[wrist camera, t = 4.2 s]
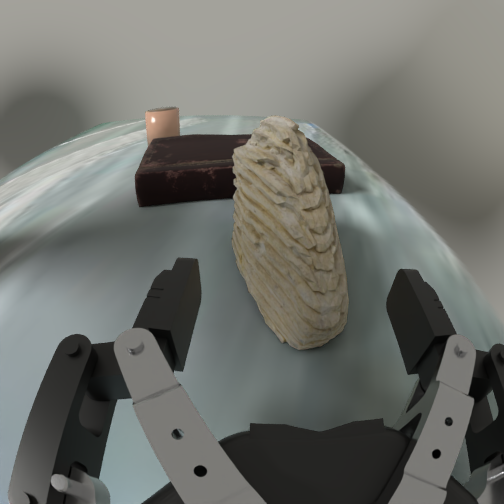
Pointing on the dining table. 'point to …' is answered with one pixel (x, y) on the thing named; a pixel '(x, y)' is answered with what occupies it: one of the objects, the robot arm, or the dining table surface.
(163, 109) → the peach glossy cylinder
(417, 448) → the robot arm
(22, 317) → the dining table surface
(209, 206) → the dining table surface
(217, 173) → the diary
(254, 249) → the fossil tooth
